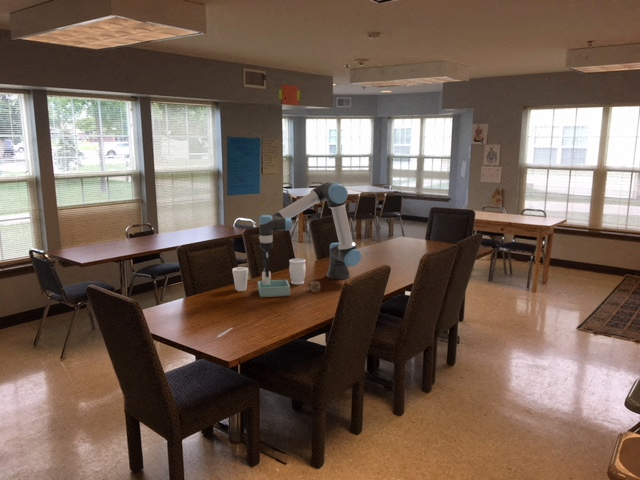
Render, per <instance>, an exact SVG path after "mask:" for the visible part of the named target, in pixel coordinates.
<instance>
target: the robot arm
mask: <svg viewBox="0 0 640 480" xmlns="http://www.w3.org/2000/svg"><path fill="white" fill-rule="evenodd" d="M348 194H349V191H348V190H347V188H346V187H345V186H344V185H343V184H340V183H338V182H337V183H336V182H330V181H329V182H323V183H322V184H320V185H317V186H316V187H315V188H312V189H311V190H310V192H309V193H308V194H305V195H304V196H302V197H301V198H299V199H297V200H295V201H294V202H292V203H291V204H289V205H288V206H286V207H284V208H282V209H281V210H279V211H277V212H275V213H274V214H268V215H267V214H263V215H260V216H259V219H258V226H259V236H258V239H259V249H260V250H262V257H263V264H262V265H263V271H264V272H265V282H270V278H269V271H270V270H271V269H270V268H271V267H270V259H271V258H270V257H271V256H270V255H271V252H270V250H272V249H273V246H274V245H273V242H274V240H273V232H282V231H285V232H286V231H290V230H292V228H293V221H292V218H294V217H295V216H297V215H299V214H300V213H302V212H304V211H306V210H307V209H309V208H311V207H312V206H314V205H316V204H320V203H323V202H326V203H327V206H328V208H329V209H331V214H332V217H333V222H334V226H335V231H336V235H337V239H338V242H332V243H330V244H329V267H328V270H327V273H326V277H327V278H328V279H331V280H347V279H349V278H350V277H351V274H350V269H349V267H350V268H353V267H357V265H359V264H360V262H361V260H362V253H361V251H360V250H359V249H358V248H357V244H356V242H355V241H353V237H352V236H353V235H352V233H351V229H350V223H349V220H348V219H349V218H348V214H347V210H346V205H347V198H348V196H349V195H348ZM270 272H271V271H270Z"/></svg>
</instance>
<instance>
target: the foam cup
mask: <svg viewBox="0 0 640 480" xmlns="http://www.w3.org/2000/svg"><path fill="white" fill-rule="evenodd" d="M248 274H249V268H248V267H245V266H238V267H233V268H232V275H233V277H232V278H233V282H234V288H235V291H236V290H237V292H246V290H247V286H248V276H249V275H248Z"/></svg>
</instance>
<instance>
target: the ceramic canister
mask: <svg viewBox="0 0 640 480" xmlns="http://www.w3.org/2000/svg"><path fill="white" fill-rule="evenodd" d="M271 273H272V272H271V271H269V278H270V282H265V272H264V270H263V271H262V272H261V279H262V280H261V281H262V284H264V285H269V284H271V280H272V279H271V278H272V277H271V276H272V275H271Z"/></svg>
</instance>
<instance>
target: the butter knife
mask: <svg viewBox="0 0 640 480" xmlns="http://www.w3.org/2000/svg"><path fill="white" fill-rule="evenodd" d="M231 330H233V327H230V328H228V329H227V330H225V331H223V332H222V333H219V334H218V335H217V336H216V338H221V337H222V335H223V336H225V335H226V334H227V333H228V332H230V331H231Z"/></svg>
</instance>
